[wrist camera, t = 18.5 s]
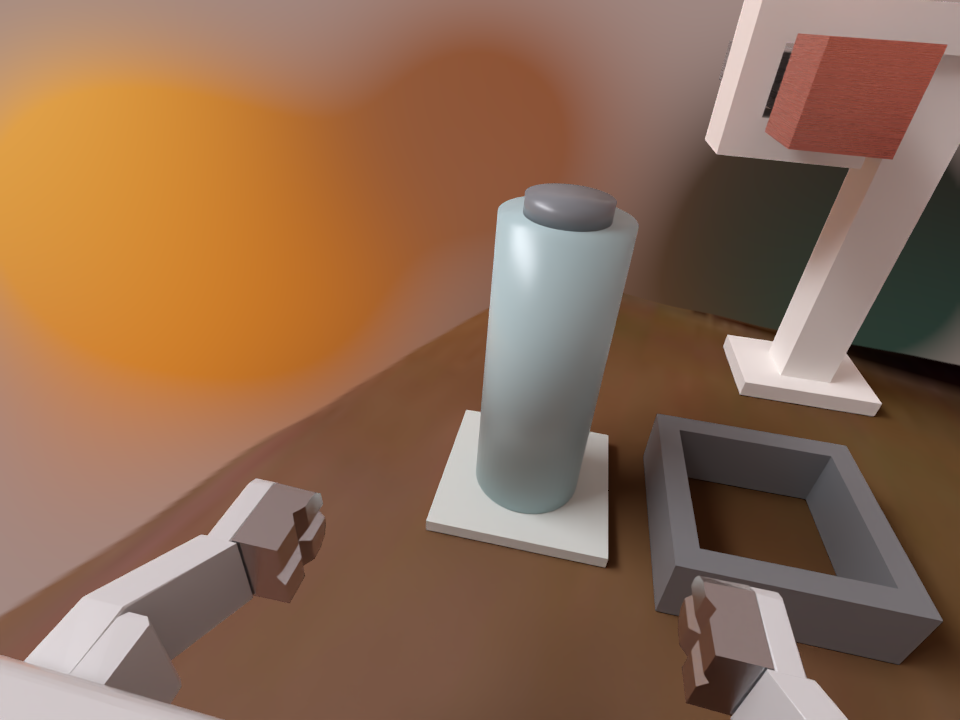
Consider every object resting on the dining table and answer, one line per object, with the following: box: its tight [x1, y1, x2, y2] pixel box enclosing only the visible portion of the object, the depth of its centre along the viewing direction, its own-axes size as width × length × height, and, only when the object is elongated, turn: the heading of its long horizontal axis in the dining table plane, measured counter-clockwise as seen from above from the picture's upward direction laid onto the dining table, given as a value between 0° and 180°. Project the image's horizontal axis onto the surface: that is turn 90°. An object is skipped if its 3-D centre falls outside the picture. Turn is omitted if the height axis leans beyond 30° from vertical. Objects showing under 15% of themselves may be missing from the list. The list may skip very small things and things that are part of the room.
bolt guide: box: [705, 0, 960, 416], centre depth 30 cm, size 14×6×21 cm, turn 78°
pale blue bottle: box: [476, 184, 639, 514], centre depth 22 cm, size 5×5×14 cm
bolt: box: [719, 33, 947, 160], centre depth 29 cm, size 4×21×4 cm, turn 168°
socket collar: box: [643, 414, 943, 664], centre depth 23 cm, size 9×9×3 cm
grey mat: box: [426, 410, 608, 568], centre depth 26 cm, size 8×8×1 cm
